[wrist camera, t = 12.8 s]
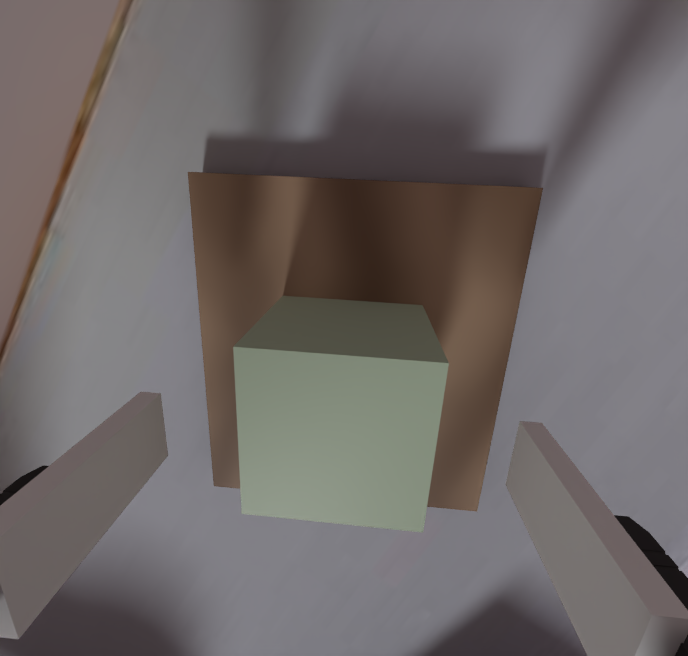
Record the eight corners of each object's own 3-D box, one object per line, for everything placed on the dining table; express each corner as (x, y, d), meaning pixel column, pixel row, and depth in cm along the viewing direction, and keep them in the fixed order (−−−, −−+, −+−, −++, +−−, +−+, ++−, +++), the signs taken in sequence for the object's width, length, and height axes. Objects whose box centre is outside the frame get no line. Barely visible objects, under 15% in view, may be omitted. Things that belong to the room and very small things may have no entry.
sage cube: (283, 416, 21) (241, 513, 15) (282, 295, 19) (233, 346, 12) (407, 426, 21) (423, 532, 14) (422, 305, 19) (448, 363, 12)
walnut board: (223, 469, 25) (213, 486, 23) (202, 174, 19) (187, 172, 17) (470, 492, 24) (477, 511, 22) (529, 189, 18) (543, 188, 16)
